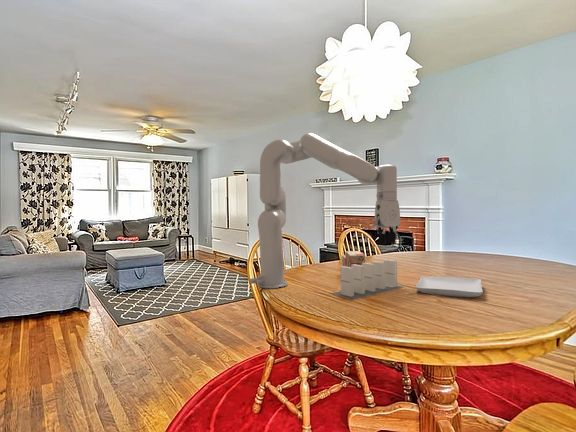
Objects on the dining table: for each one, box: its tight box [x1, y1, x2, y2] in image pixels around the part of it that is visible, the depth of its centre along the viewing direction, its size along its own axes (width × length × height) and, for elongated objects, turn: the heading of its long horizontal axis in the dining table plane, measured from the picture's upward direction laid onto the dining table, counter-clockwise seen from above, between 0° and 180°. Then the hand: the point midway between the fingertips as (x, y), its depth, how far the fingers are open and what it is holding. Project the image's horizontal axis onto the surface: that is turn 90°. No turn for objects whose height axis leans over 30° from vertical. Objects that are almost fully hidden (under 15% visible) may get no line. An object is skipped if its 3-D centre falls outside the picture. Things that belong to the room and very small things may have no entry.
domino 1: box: [339, 265, 354, 297], centre depth 123 cm, size 2×5×10 cm, turn 34°
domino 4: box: [371, 260, 386, 289], centre depth 133 cm, size 2×5×10 cm, turn 34°
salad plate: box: [415, 275, 484, 298], centre depth 127 cm, size 21×21×3 cm
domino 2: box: [351, 264, 365, 294], centre depth 127 cm, size 2×5×10 cm, turn 34°
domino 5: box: [383, 259, 398, 287], centre depth 135 cm, size 2×5×10 cm, turn 34°
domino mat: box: [330, 284, 405, 301], centre depth 130 cm, size 28×11×1 cm, turn 124°
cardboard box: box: [341, 250, 366, 267], centre depth 152 cm, size 21×6×12 cm, turn 0°
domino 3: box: [362, 262, 375, 292], centre depth 130 cm, size 2×5×10 cm, turn 34°
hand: (387, 243), depth 135 cm, fingers open, 4 cm apart
